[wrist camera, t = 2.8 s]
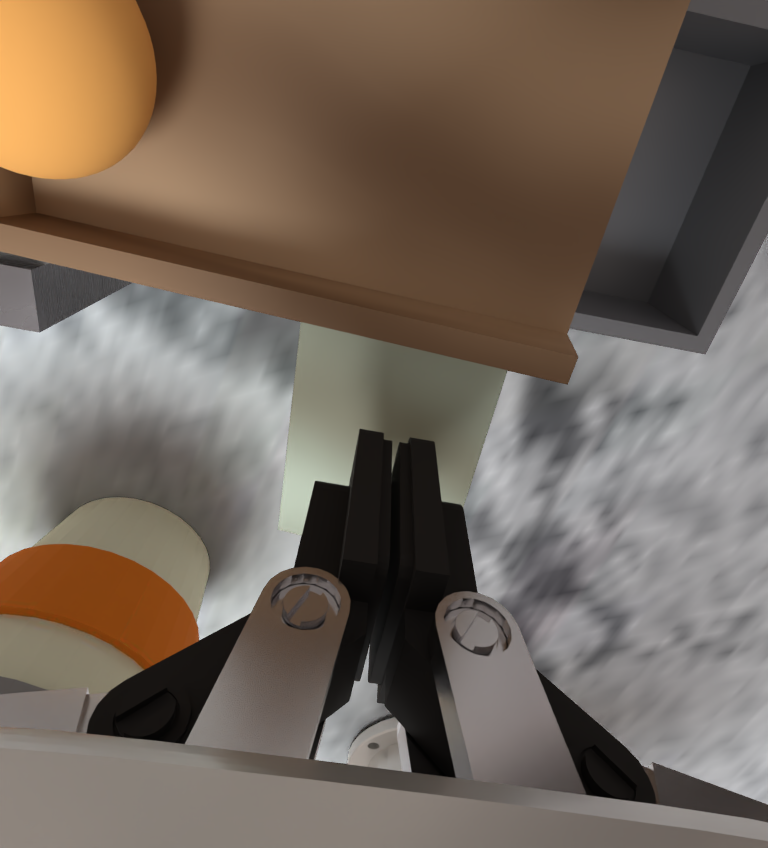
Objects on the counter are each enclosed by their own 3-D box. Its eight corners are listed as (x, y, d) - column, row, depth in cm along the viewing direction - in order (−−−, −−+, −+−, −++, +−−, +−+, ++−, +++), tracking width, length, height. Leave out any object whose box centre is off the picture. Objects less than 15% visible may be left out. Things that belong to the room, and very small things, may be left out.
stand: (230, 279, 24) (113, 376, 14) (95, 253, 23) (-122, 335, 14) (248, -150, 17) (46, -536, 7) (59, -196, 16) (-422, -668, 7)
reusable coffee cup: (135, 433, 28) (-105, 701, 14) (280, 582, 33) (200, 882, 19) (-15, 528, 31) (-319, 815, 18) (137, 650, 36) (-14, 944, 23)
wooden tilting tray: (476, 550, 16) (475, 621, 14) (-13, 425, 17) (-95, 470, 15) (703, -86, 9) (785, -177, 7) (-153, -240, 10) (-357, -367, 8)
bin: (649, 314, 24) (705, 354, 19) (435, 272, 23) (443, 304, 19) (764, 51, 19) (874, 25, 15) (500, -10, 18) (531, -57, 14)
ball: (201, 197, 11) (27, 205, 8) (54, 159, 12) (-161, 150, 9) (204, -46, 9) (-24, -179, 6) (29, -70, 10) (-261, -199, 7)
